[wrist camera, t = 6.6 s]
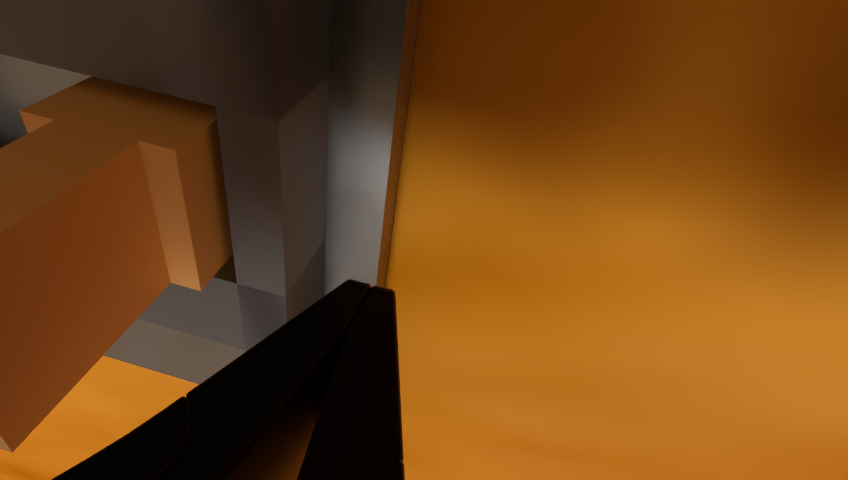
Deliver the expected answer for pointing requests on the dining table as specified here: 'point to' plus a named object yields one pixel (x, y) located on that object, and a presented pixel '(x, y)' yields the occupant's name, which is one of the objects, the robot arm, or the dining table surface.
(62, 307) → the toggle
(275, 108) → the box
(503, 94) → the dining table surface
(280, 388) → the robot arm
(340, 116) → the panel
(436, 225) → the dining table surface
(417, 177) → the dining table surface
